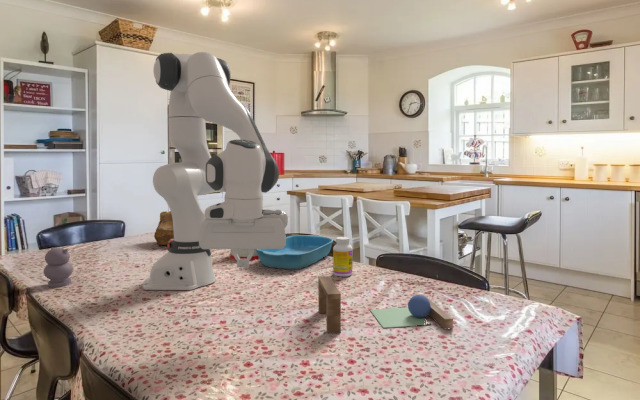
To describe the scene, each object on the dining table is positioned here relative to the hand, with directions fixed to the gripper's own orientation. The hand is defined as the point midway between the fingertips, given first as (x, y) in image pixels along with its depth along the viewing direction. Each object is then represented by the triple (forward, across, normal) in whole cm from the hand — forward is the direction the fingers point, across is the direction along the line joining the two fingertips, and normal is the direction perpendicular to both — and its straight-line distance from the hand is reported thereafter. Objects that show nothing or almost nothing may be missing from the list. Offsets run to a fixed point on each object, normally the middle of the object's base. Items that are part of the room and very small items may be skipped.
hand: (243, 266), depth 102 cm
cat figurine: (+18, +60, -43) cm, 76 cm away
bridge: (+14, -21, +1) cm, 25 cm away
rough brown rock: (+18, +36, -103) cm, 110 cm away
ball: (+10, -44, +2) cm, 45 cm away
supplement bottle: (+15, -33, -40) cm, 53 cm away
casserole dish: (+16, -19, -63) cm, 68 cm away
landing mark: (+13, -39, +1) cm, 41 cm away
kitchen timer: (+16, 0, -72) cm, 74 cm away
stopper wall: (+13, -48, +1) cm, 50 cm away
